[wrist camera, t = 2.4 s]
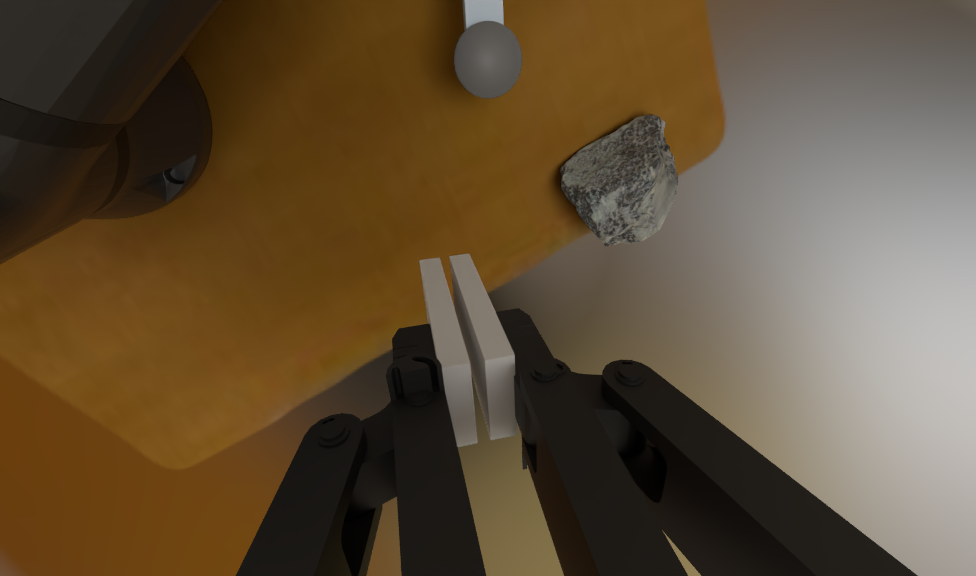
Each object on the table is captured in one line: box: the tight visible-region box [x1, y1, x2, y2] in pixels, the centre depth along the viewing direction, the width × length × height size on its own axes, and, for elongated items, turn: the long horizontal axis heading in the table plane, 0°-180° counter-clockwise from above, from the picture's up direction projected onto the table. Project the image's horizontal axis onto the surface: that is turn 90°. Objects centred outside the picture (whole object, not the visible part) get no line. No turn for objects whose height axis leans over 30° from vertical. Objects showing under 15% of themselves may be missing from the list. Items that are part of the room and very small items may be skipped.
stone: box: [560, 114, 678, 246], centre depth 39 cm, size 10×10×10 cm
